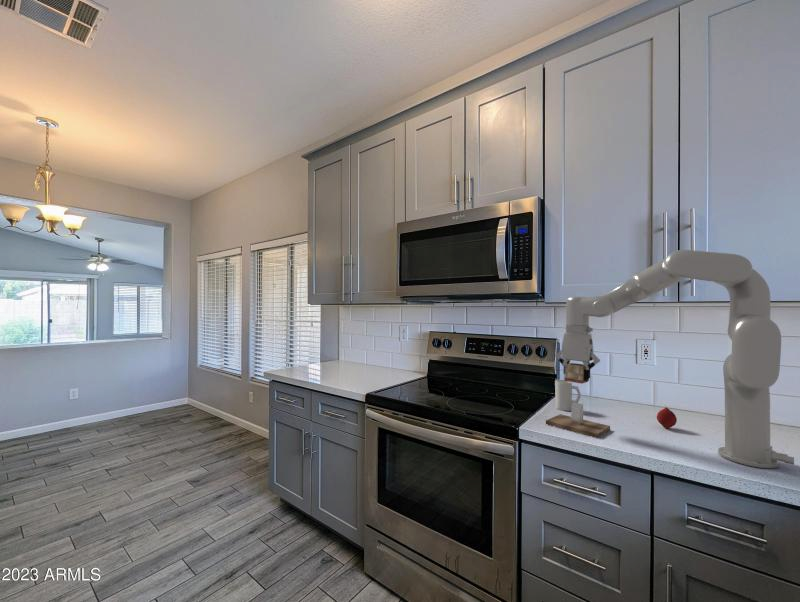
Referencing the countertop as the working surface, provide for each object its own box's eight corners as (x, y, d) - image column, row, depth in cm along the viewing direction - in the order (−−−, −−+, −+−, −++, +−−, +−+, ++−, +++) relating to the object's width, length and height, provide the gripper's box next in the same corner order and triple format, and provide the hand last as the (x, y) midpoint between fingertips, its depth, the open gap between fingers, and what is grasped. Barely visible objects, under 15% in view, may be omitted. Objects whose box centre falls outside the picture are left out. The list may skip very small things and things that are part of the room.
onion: (677, 428, 129) (677, 406, 129) (675, 432, 125) (675, 410, 125) (658, 424, 133) (658, 403, 133) (655, 428, 129) (655, 406, 129)
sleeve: (588, 381, 130) (588, 365, 130) (581, 383, 126) (582, 366, 126) (571, 378, 134) (571, 362, 134) (564, 380, 130) (564, 364, 130)
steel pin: (583, 423, 129) (583, 404, 129) (579, 425, 127) (579, 405, 127) (574, 421, 132) (574, 402, 132) (571, 422, 130) (571, 404, 130)
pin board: (610, 430, 127) (610, 425, 127) (597, 438, 119) (597, 433, 119) (560, 417, 140) (560, 414, 140) (545, 424, 132) (545, 420, 132)
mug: (553, 409, 152) (553, 381, 152) (557, 405, 157) (557, 379, 158) (578, 413, 146) (578, 384, 146) (582, 409, 151) (582, 382, 151)
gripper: (606, 331, 126) (605, 381, 126) (558, 328, 139) (557, 373, 139) (598, 332, 121) (598, 384, 121) (549, 328, 134) (548, 375, 134)
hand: (576, 378), depth 130 cm, fingers closed on sleeve, 6 cm apart
